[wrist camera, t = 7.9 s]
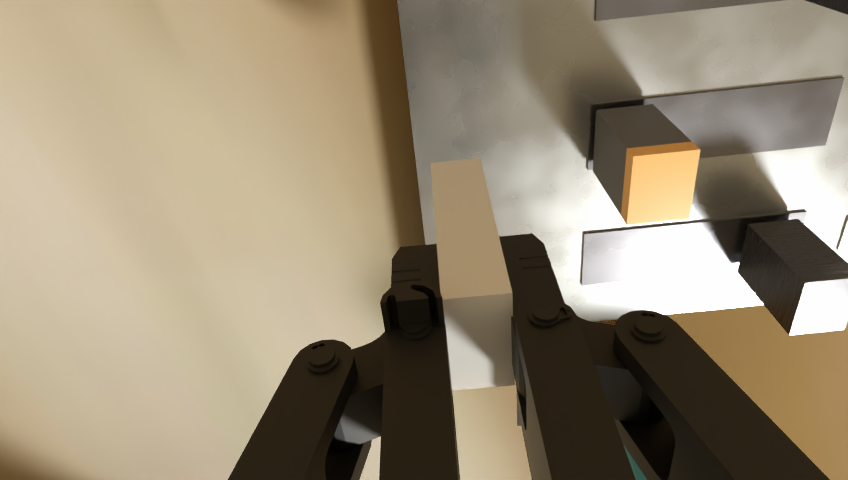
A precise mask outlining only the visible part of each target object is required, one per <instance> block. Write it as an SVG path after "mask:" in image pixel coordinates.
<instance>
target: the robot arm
mask: <svg viewBox="0 0 848 480" xmlns="http://www.w3.org/2000/svg"><path fill="white" fill-rule="evenodd" d="M431 175H432V189H433V202H434V215H435V228H436V242H437V244H429V245H419V246H408V247H400V248H399V250H398V251H397V253H396V254H395V256H394V257H393V259H392V277H391V283H392V284H391V288H390V289H389V290H388V291H387V292H386V293H385V294H384V295H383V297H382V299H381V302H380V304H381V310H382V316H383V321H384V327H385V332H384V333H383V334H382V335H381V336H380V337H379V338H377V339H376V340H374V341H373V342H371V343H369V344H366V345H364V346H361V347H358V348H355V349H352V350H351V347H349V346H348V345H347V344H345V343H344V342H341V341H337V340H321V341H318V342H315V343H312V344H310V345H308V346H307V347H305V348H303V349H302V350H300V352H299V353H298V354H297V355H296V357H295V358H294V359H293V361H292V363H291V365H290V366H289V368H288V370H287V372H286V374H285V376H284V378H283V379H282V381H281V383H280V385H279V387H278V389H277V390H276V392H275V394H274V396H273V398H272V400H271V401H270V403H269V405H268V407H267V409H266V411H265V412H264V414H263V416H262V418H261V420H260V422H259V423H258V425H257V427H256V429H255V431H254V433H253V434H252V436H251V438H250V440H249V442H248V444H247V445H246V447H245V449H244V451H243V453H242V455H241V457H240V458H239V460H238V462H237V464H236V466H235V468H234V469H233V471H232V473H231V475H230V477H229V479H228V480H359V479H360V476H361V473H362V470H363V468H364V465H365V462H366V459H367V456H368V453H369V450H370V447H371V440H372V439H375V438H377V437H380V436H381V452H380V476H379V480H460V474H459V463H458V451H457V440H456V428H455V417H454V406H453V396H452V390H463V389H474V388H486V387H497V386H509V385H514V376H515V381H516V386H517V426H520V425H521V426H522V431H523V436H524V441H525V446H526V451H527V457H528V462H529V467H530V472H531V477H532V480H636V478H635V476H634V473H633V470H632V467H631V465H630V462H629V459H628V456H627V454H626V451H625V448H626V449H627V451H628V452H629V454H630V455H631V457H632V458H633V460H634V461H635V462H636V464H637V465H638V467H639V468H640V470H641V471H642V473H643V474H644V476H645V477H646V479H647V480H830V479H829V478H828V477H827V476H826V475H825V474H824V473H823V472H822V471H821V470H820V469H819V468H818V467H817V466H816V465H815V464H814V463H813V462H812V461H811V460H810V459H809V458H808V457H807V456H806V455H805V454H804V453H803V452H802V451H801V450H800V449H799V448H798V447H797V446H796V445H795V444H794V443H793V442H792V441H791V440H790V438H789V437H788V436H787V435H786V434H785V433H784V432H783V431H782V430H781V429H780V428H779V427H778V426H777V425H776V424H775V423H774V422H773V421H772V420H771V419H770V418H769V417H768V416H767V415H766V414H765V413H764V412H763V411H762V410H761V409H760V408H759V407H758V406H757V405H756V404H755V403H754V402H753V401H752V400H751V399H750V397H749V396H748V395H747V394H746V393H745V392H744V391H743V390H742V389H741V388H740V387H739V386H738V385H737V384H736V383H735V382H734V381H733V380H732V379H731V378H730V377H729V376H728V375H727V374H726V373H725V372H724V371H723V370H722V369H721V368H720V367H719V366H718V365H717V364H716V363H715V362H714V361H713V360H712V359H711V358H710V357H709V355H708V354H707V353H706V352H705V351H704V350H703V349H702V348H701V347H700V346H699V345H698V344H697V343H696V342H695V341H694V340H693V339H692V338H691V337H690V336H689V335H688V334H687V333H686V332H685V331H684V330H683V329H682V328H681V327H680V326H679V325H678V324H677V323H676V322H675V321H673V320H672V319H671V318H669V317H668V316H666V315H663V314H661V313H658V312H655V311H648V310H637V311H630V312H628V313H626V314H624V315H621V316H620V318H619V319H618V320H617V321H616V324H615V325H609V324H602V323H596V322H591V321H588V320H585V319H582V318H580V317H578V316H577V315H576V313H575V312H574V311H573V309H572V308H571V307H570V306H568V305H567V304H565V302H564V299H563V297H562V294H561V291H560V288H559V285H558V282H557V279H556V277H555V274H554V271H553V268H552V265H551V262H550V259H549V258H548V254H547V251H546V248H545V245H544V243H543V242H542V241H541V240H539V239H538V238H537V237H536V236H535V235H534V234H532V233H531V234H521V235H510V236H500V237H499V235H498V231H497V226H496V222H495V218H494V214H493V210H492V205H491V201H490V197H489V193H488V189H487V185H486V180H485V176H484V172H483V168H482V164H481V160H480V158H476V159H466V160H456V161H446V162H436V163H431ZM624 446H625V448H624Z"/></svg>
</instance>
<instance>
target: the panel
mask: <svg viewBox="0 0 848 480" xmlns="http://www.w3.org/2000/svg"><path fill="white" fill-rule="evenodd" d="M397 4H398V12H399V21H400V30H401V38H402V47H403V56H404V64H405V73H406V82H407V90H408V99H409V108H410V116H411V125H412V134H413V142H414V151H415V160H416V168H417V177H418V185H419V194H420V203H421V211H422V220H423V229H424V237H425V245H429V244H437V242H436V228H435V215H434V202H433V189H432V175H431V163H436V162H446V161H456V160H466V159H476V158H480V160H481V164H482V168H483V172H484V176H485V180H486V185H487V189H488V193H489V197H490V201H491V205H492V210H493V214H494V218H495V222H496V226H497V231H498V235H499V237H500V236H510V235H521V234H531V233H532V234H534V235H535V236H536V237H537V238H538V239H539V240H541V241H542V242H543V243H544V245H545V248H546V251H547V254H548V258H549V259H550V262H551V265H552V268H553V271H554V274H555V277H556V279H557V282H558V285H559V288H560V291H561V294H562V297H563V299H564V302H565V304H567V305H568V306H570V307H571V308H572V309H573V311H574V312H575V313H576V315H577V316H578V317H580V318H582V319H585V320H588V321H591V322H594V321H604V320H615V319H619V318H620V316H621V315H624V314H626V313H628V312H630V311H637V310H648V311H655V312H658V313H661V314H663V315H666V314H676V313H686V312H696V311H707V310H717V309H727V308H737V307H748V306H758V305H765V307H766V308H767V309H768V310H769V311H770V313H771V314H772V315H773V316H774V317H775V319H776V320H777V321H778V322H779V324H780V325H781V326H782V327H783V328H784V330H785V331H786V332H787V333H788V334H789V335H798V334H808V333H818V332H829V331H839V330H845V327H846V324H847V321H848V0H397ZM648 104H653V105H654V106H655V107H656V108H657V109H658V110H659V111H661V112H662V113H663V114H664V115H665V116H666V117H667V118H668V119H669V120H670V121H671V122H672V123H673V124H674V125H675V126H676V127H677V128H678V129H679V130H681V131H682V132H683V133H684V134H685V135H686V136H687V137H688V138H689V139H690V140H691V141H692V142H693V143H694V144H695V145H696V146H697V147H698V148H700V156H699V162H698V168H697V174H696V181H695V187H694V193H693V199H692V206H691V212H690V218H689V219H680V220H671V221H661V222H651V223H641V224H631V225H626V223H625V221H624V220H623V218H622V217H621V215H620V213H619V212H618V210H617V209H616V207H615V206H614V204H613V202H612V201H611V199H610V198H609V196H608V194H607V193H606V191H605V190H604V188H603V186H602V185H601V183H600V182H599V180H598V179H597V177H596V175H595V174H594V172H593V157H594V139H595V122H596V110H601V109H610V108H619V107H629V106H638V105H648Z"/></svg>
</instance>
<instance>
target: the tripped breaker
mask: <svg viewBox="0 0 848 480" xmlns="http://www.w3.org/2000/svg"><path fill="white" fill-rule="evenodd" d="M699 156H700V148H698V147H697V146H696V145H695V144H694V143H693V142H692V141H691V140H690V139H689V138H688V137H687V136H686V135H685V134H684V133H683V132H682V131H681V130H679V129H678V128H677V127H676V126H675V125H674V124H673V123H672V122H671V121H670V120H669V119H668V118H667V117H666V116H665V115H664V114H663V113H662V112H661V111H659V110H658V109H657V108H656V107H655V106H654V105H653V104H648V105H638V106H629V107H619V108H610V109H601V110H596V122H595V139H594V157H593V172H594V174H595V175H596V177H597V179H598V180H599V182H600V183H601V185H602V186H603V188H604V190H605V191H606V193H607V194H608V196H609V198H610V199H611V201H612V202H613V204H614V206H615V207H616V209H617V210H618V212H619V213H620V215H621V217H622V218H623V220H624V221H625V223H626V225H631V224H641V223H651V222H661V221H671V220H680V219H689V218H690V212H691V206H692V199H693V193H694V187H695V181H696V174H697V168H698V162H699Z"/></svg>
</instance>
